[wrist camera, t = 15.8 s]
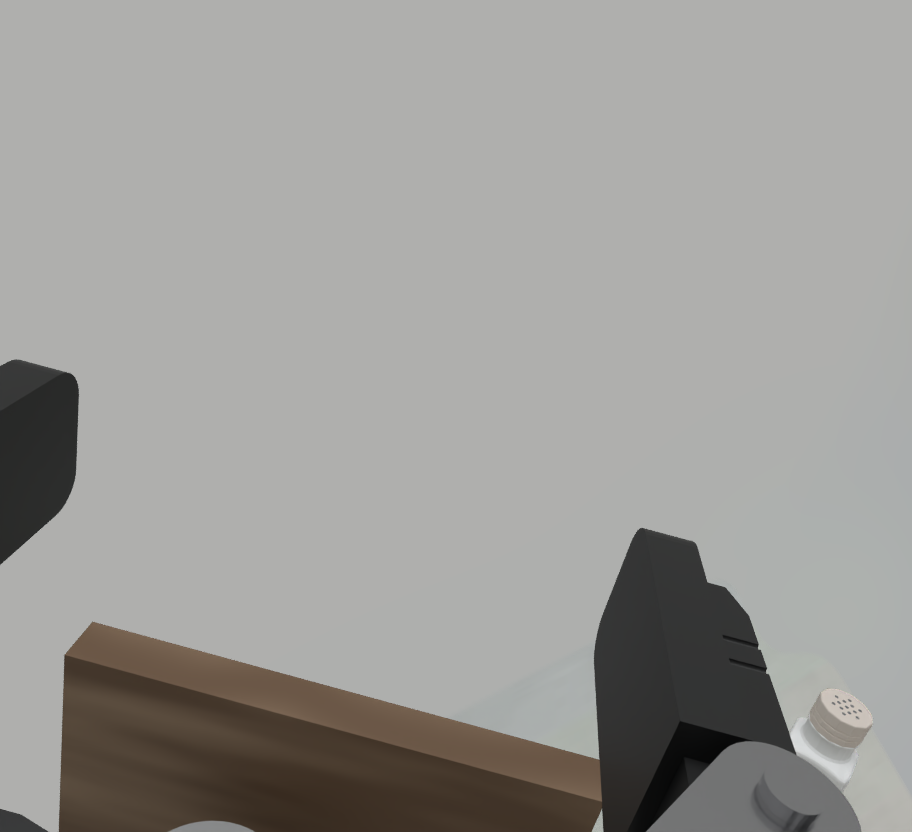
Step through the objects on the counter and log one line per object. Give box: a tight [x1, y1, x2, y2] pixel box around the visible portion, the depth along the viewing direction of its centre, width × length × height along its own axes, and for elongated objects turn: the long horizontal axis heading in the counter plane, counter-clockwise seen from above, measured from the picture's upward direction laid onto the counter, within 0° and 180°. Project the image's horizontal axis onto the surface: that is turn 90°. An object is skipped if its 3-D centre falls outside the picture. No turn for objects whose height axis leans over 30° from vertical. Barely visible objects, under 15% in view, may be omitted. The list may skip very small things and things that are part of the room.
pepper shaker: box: [789, 688, 873, 792], centre depth 51 cm, size 4×4×10 cm
